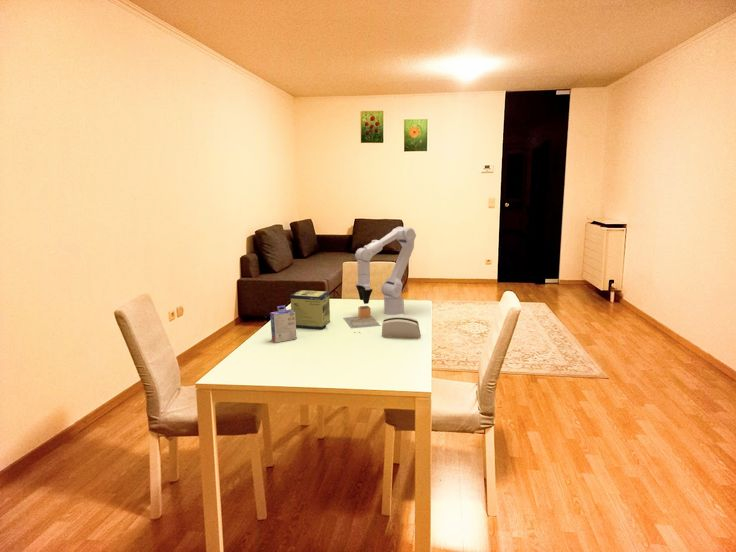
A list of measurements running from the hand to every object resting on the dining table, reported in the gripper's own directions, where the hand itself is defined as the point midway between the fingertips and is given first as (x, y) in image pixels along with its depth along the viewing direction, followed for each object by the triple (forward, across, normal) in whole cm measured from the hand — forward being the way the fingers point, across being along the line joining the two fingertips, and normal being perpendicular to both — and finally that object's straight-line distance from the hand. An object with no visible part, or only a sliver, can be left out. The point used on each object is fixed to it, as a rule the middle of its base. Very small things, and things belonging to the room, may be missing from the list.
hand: (364, 301), depth 245 cm
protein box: (+9, +2, -26) cm, 28 cm away
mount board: (+9, +6, -3) cm, 11 cm away
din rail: (+9, +10, -3) cm, 14 cm away
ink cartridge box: (+9, +19, -40) cm, 45 cm away
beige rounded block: (+9, +29, +9) cm, 32 cm away
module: (+8, 0, 0) cm, 8 cm away
